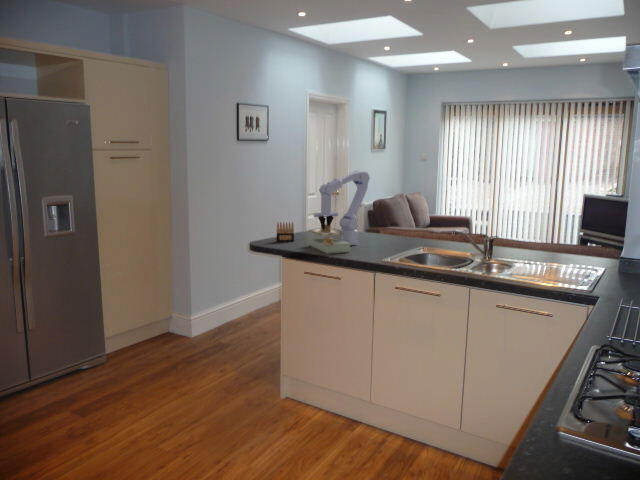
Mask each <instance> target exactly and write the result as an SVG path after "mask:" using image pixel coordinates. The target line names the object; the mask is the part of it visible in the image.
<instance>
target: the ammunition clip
mask: <svg viewBox="0 0 640 480" xmlns="http://www.w3.org/2000/svg"><path fill="white" fill-rule="evenodd" d="M294 231H295V228H294V222H293V221H292V222H290V221H289V223H288V222H287V221H286V222H284V221H283V223H282V222H280V223H279V222H277V223H276V237H275V238H276V239H275V242H276V243H288V242H289V243H291V242H293V241H294V242H295V232H294Z"/></svg>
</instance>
